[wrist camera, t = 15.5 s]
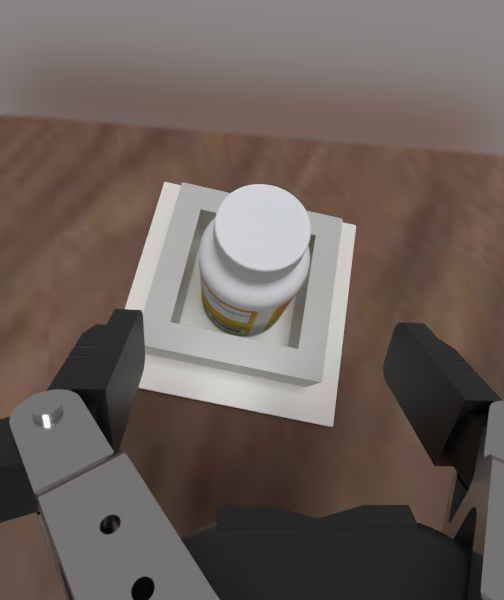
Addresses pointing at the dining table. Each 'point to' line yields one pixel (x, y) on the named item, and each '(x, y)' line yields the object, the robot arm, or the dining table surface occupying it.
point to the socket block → (233, 349)
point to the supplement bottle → (253, 259)
